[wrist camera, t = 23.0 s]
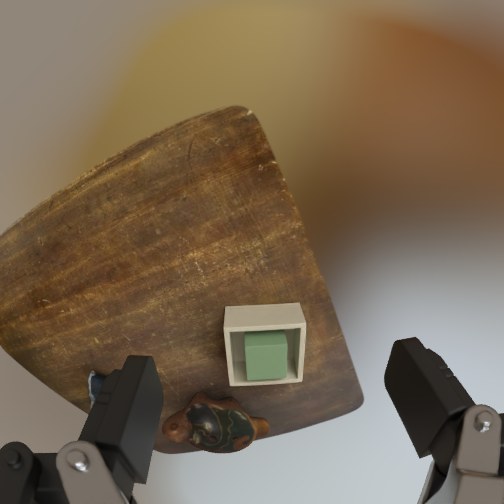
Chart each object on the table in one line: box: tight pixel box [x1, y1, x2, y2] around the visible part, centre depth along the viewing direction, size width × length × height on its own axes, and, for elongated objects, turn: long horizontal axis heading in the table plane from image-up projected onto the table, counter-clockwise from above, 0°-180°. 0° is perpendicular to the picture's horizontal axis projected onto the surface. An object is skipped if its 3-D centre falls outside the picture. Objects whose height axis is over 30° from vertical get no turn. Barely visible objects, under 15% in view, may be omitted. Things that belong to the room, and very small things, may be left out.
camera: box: [88, 371, 107, 408], centre depth 38 cm, size 5×10×4 cm, turn 162°
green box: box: [244, 329, 287, 380], centre depth 34 cm, size 5×4×5 cm
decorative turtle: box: [162, 392, 269, 453], centre depth 38 cm, size 10×15×8 cm, turn 81°
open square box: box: [223, 303, 306, 386], centre depth 35 cm, size 9×9×5 cm
